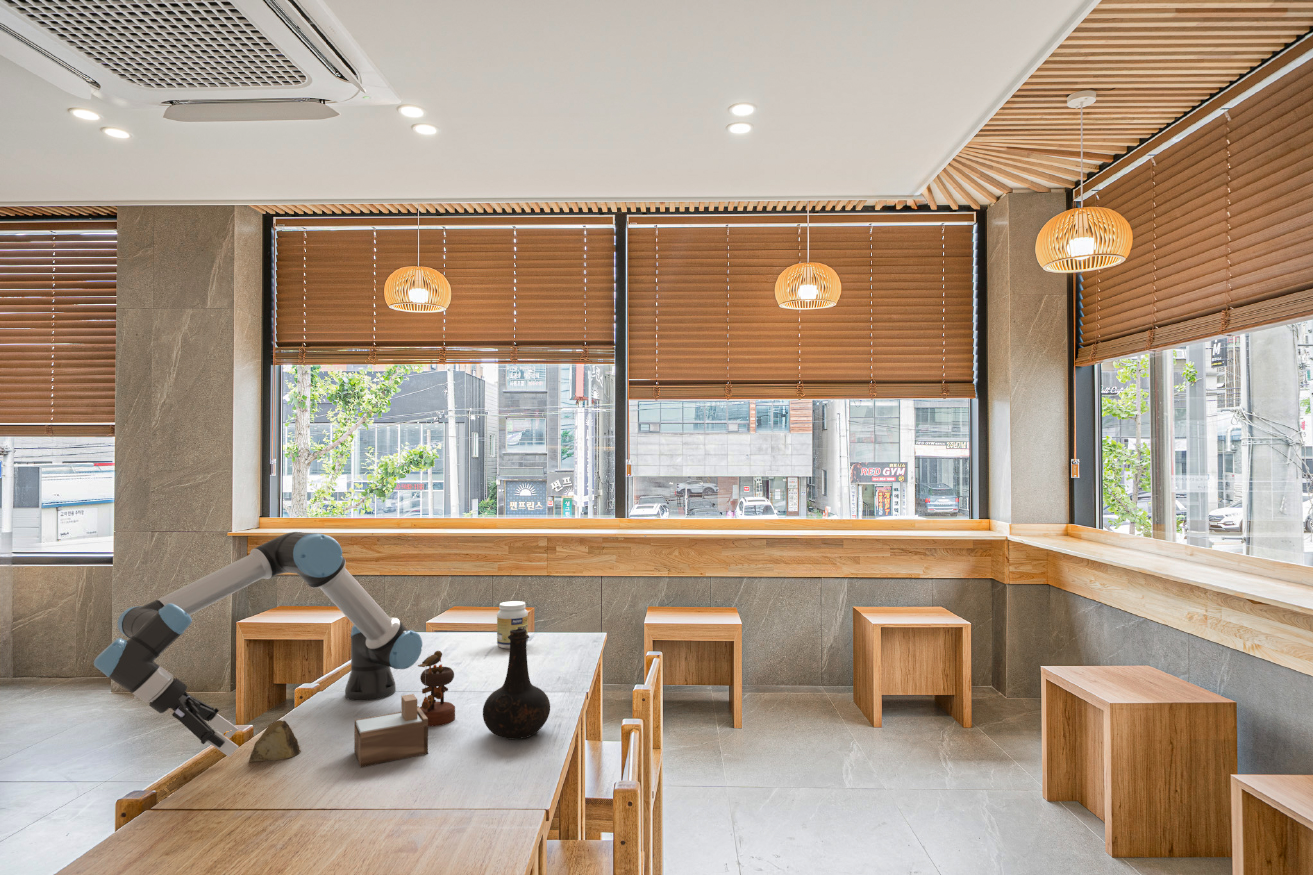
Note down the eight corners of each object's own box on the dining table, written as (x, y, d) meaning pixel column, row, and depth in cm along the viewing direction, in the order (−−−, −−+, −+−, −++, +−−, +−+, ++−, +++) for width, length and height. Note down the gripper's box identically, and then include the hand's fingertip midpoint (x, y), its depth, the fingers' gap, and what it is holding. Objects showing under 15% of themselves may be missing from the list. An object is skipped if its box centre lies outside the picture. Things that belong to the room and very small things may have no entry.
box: (354, 751, 187) (354, 717, 187) (418, 739, 195) (418, 706, 195) (360, 767, 177) (360, 730, 177) (428, 753, 185) (427, 718, 185)
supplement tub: (512, 650, 285) (512, 607, 286) (490, 646, 292) (490, 604, 293) (534, 644, 296) (534, 602, 296) (512, 640, 302) (512, 599, 303)
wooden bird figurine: (446, 729, 202) (439, 656, 203) (408, 731, 203) (402, 658, 204) (466, 710, 217) (460, 642, 218) (431, 712, 219) (426, 645, 219)
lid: (355, 724, 186) (355, 700, 186) (414, 714, 193) (414, 691, 194) (360, 735, 178) (361, 711, 179) (422, 724, 186) (422, 700, 186)
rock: (236, 757, 178) (272, 754, 177) (248, 721, 184) (283, 718, 182) (264, 769, 187) (299, 766, 185) (275, 735, 192) (309, 732, 190)
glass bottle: (469, 741, 193) (469, 634, 194) (506, 718, 210) (505, 620, 211) (529, 749, 187) (528, 639, 188) (561, 725, 204) (560, 624, 205)
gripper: (152, 689, 181) (221, 738, 188) (141, 719, 160) (220, 774, 167) (178, 665, 184) (245, 714, 191) (170, 691, 163) (247, 745, 170)
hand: (233, 742), depth 179 cm, fingers open, 13 cm apart
